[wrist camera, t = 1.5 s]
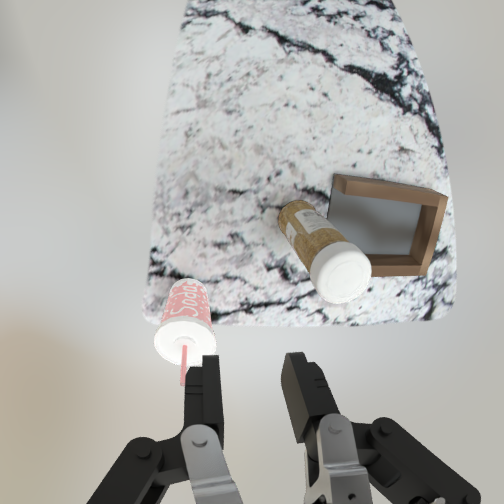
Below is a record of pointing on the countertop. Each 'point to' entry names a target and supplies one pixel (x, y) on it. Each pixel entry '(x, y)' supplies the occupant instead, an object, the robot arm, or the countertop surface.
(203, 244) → the countertop surface
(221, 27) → the countertop surface
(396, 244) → the u rest
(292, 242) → the sprinkles bottle
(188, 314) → the beverage cup
